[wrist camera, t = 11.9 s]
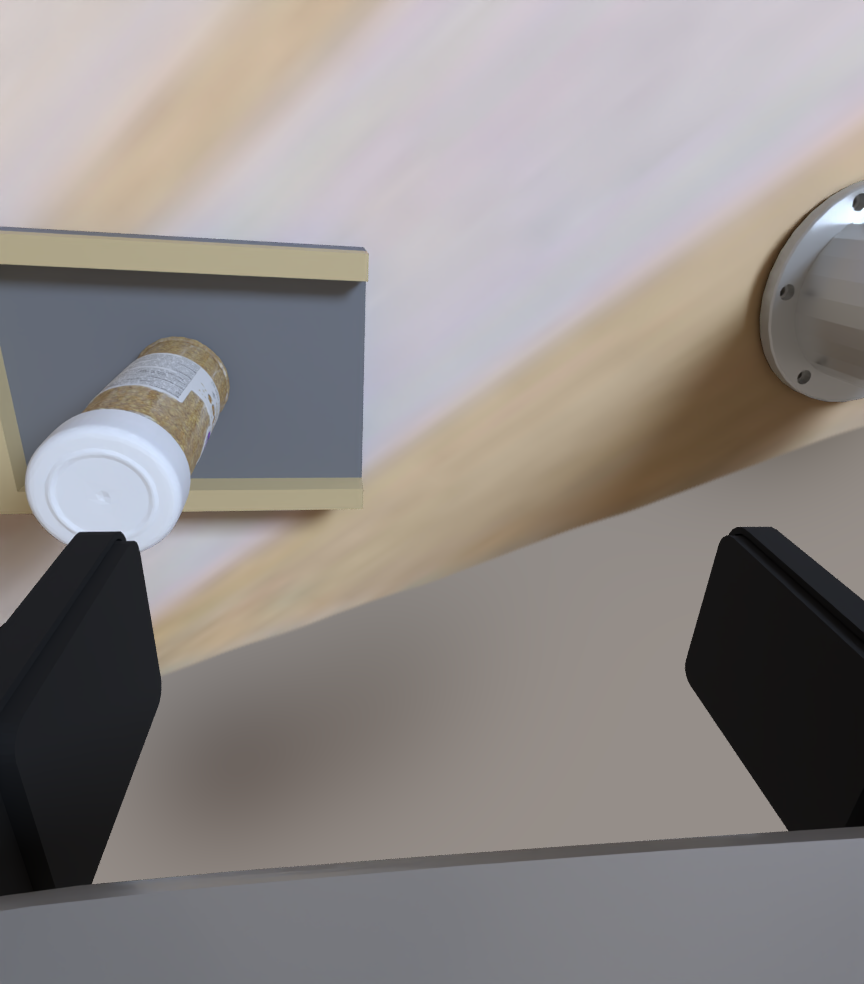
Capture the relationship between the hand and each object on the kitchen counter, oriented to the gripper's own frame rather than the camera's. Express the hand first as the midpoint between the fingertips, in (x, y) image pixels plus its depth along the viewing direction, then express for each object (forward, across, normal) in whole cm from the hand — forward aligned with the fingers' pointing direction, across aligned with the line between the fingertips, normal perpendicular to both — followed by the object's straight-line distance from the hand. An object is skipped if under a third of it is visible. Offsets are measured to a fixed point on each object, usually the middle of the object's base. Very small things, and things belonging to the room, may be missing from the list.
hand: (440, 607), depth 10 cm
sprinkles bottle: (+24, +10, +3) cm, 26 cm away
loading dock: (+26, +10, +3) cm, 28 cm away
